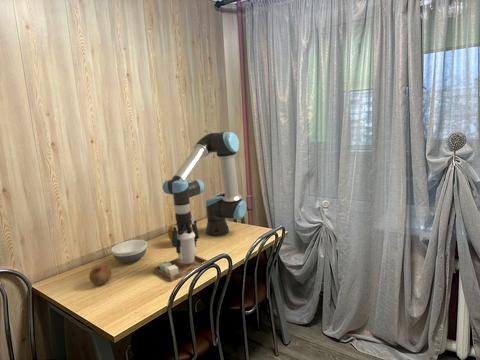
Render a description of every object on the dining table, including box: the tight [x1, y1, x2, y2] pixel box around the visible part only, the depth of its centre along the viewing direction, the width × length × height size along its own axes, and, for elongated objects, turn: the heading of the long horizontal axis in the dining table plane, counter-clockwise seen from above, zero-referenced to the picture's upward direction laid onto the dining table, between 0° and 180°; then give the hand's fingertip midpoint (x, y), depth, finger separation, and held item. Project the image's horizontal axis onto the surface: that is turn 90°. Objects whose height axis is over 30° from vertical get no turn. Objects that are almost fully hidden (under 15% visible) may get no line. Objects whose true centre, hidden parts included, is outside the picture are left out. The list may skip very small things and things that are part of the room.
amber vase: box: [167, 223, 178, 242], centre depth 187 cm, size 11×11×13 cm
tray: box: [152, 254, 209, 283], centre depth 155 cm, size 22×16×2 cm
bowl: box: [110, 239, 148, 265], centre depth 169 cm, size 19×19×8 cm
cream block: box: [167, 265, 179, 276], centre depth 148 cm, size 4×4×4 cm
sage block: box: [159, 261, 172, 274], centre depth 152 cm, size 4×4×4 cm
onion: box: [88, 264, 112, 286], centre depth 145 cm, size 10×9×10 cm
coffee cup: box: [177, 230, 195, 264], centre depth 156 cm, size 10×10×15 cm
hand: (187, 255), depth 157 cm, fingers closed on coffee cup, 7 cm apart
